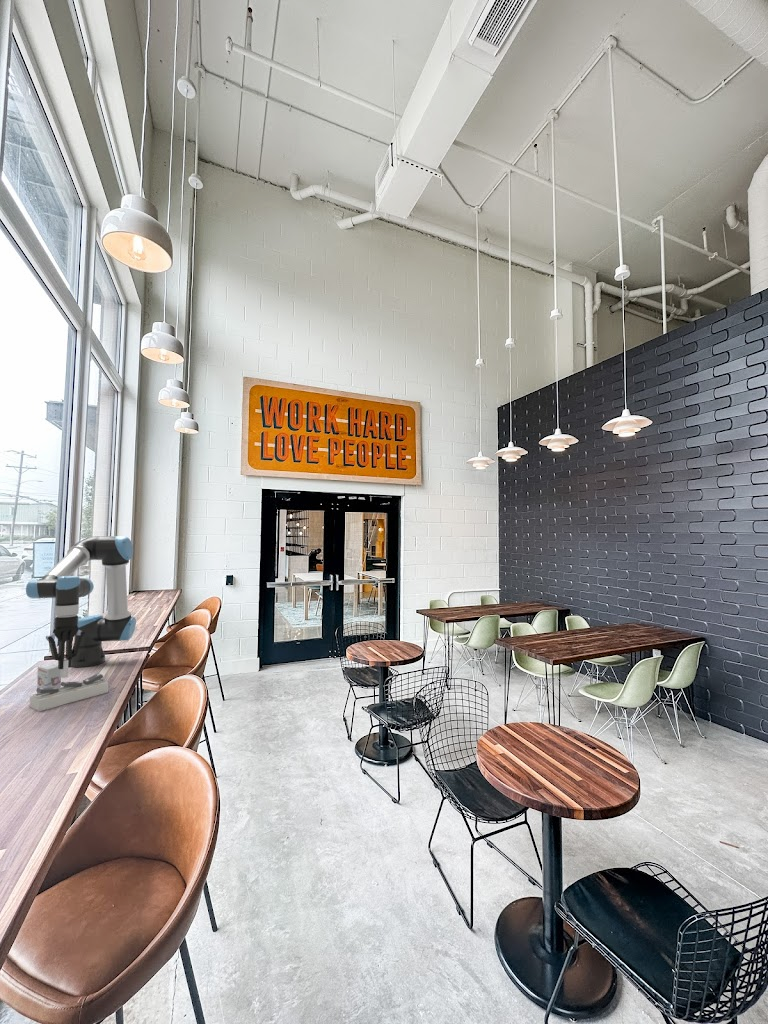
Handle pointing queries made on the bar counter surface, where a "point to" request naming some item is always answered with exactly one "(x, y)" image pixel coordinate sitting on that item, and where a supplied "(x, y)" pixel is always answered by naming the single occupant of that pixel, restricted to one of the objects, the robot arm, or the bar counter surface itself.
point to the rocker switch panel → (67, 695)
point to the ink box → (48, 676)
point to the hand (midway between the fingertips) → (63, 676)
